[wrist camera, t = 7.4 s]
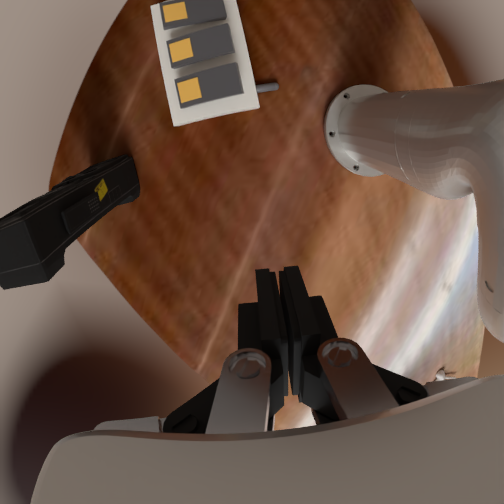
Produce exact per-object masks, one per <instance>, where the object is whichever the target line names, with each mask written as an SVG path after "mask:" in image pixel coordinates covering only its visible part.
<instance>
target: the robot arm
mask: <svg viewBox="0 0 504 504" xmlns="http://www.w3.org/2000/svg"><path fill="white" fill-rule="evenodd" d="M344 95H345V96H346V98H344ZM329 132H332V135H331V136H330V135H329ZM324 134H325V139H326V142H327V146H328V148H329V150H330V152H331V154H332V155H333V156H334V158H335V159H336V160H337V161H338V162H339V163H340V164H341V165H342V166H343V167H344V168H346V169H348V170H349V171H351V172H353V173H355V174H358V175H362V176H369V177H373V176H380V175H383V174H387V175H389V176H391V177H393V178H396V179H398V180H400V181H402V182H404V183H406V184H409V185H411V186H413V187H415V188H417V189H419V190H421V191H423V192H426V193H428V194H430V195H432V196H434V197H437V198H441V199H446V200H452V199H459V198H463V197H465V196H467V195H470V194H472V193H474V197H475V202H476V209H477V225H478V233H479V253H478V278H477V302H478V308H479V313H480V316H481V319H482V321H483V323H484V325H485V326H486V328H487V329H488V330H489V332H490V333H491V334H492V335H493V336H494V337H495V338H497V339H498V340H500V341H502V342H503V343H504V79H502V80H496V81H491V82H487V83H482V84H475V85H469V86H461V87H450V88H434V89H423V90H410V91H399V92H390V93H389V92H387V91H386V90H384V89H382V88H380V87H377V86H373V85H365V84H363V85H355V86H352V87H349V88H347V89H345V90H343V91H341V92H340V93H339V94H338V95H336V96H335V98H334V99H333V100H332V101H331V103H330V105H329V107H328V109H327V111H326V115H325V119H324ZM354 165H355V168H353V167H354ZM255 271H256V283H257V295H258V302H254V303H242V304H239V305H238V350H237V351H235V352H233V353H231V354H230V355H229V356H228V357H227V358H226V359H225V361H224V364H223V367H222V371H221V375H220V378H219V379H217V380H216V381H215V382H213V383H212V384H211V385H210V386H208V387H207V388H205V389H204V390H203V391H201V392H200V393H199V394H197V395H196V396H194V397H193V398H192V399H190V400H189V401H187V402H186V403H185V404H183V405H182V406H180V407H179V408H177V409H176V410H175V411H173V412H172V413H171V414H170V415H168V416H167V418H163V419H159V417H158V416H156V417H149V418H140V419H130V420H119V421H107V422H103V423H101V424H99V425H98V426H96V428H95V429H94V430H93V431H87V432H82V433H77V434H74V435H70V436H67V437H65V438H63V439H61V440H60V441H59V442H57V443H56V444H55V446H54V447H53V448H52V450H51V451H50V453H49V454H48V456H47V458H46V460H45V462H44V464H43V467H42V469H41V472H40V474H39V477H38V480H37V483H36V487H35V489H34V493H33V496H32V500H31V504H504V375H494V376H489V377H484V378H481V379H478V378H475V377H463V378H457V379H450V380H442V381H433V382H426V384H425V385H423V386H422V385H421V384H420V383H418V382H416V381H414V380H411V379H408V378H406V377H403V376H401V375H398V374H396V373H393V372H391V371H388V370H386V369H384V368H381V367H379V366H376V365H374V364H372V363H371V362H370V360H369V359H368V357H367V356H366V354H365V353H364V351H363V350H362V348H361V347H360V346H359V345H358V344H357V343H356V342H354V341H352V340H350V339H346V338H338V336H337V333H336V331H335V328H334V326H333V323H332V320H331V318H330V315H329V313H328V310H327V308H326V305H325V303H324V300H323V298H322V296H312V297H309V296H308V293H307V290H306V287H305V284H304V281H303V279H302V276H301V273H300V270H299V267H298V266H289V267H284V271H279V286H280V295H279V290H278V285H277V280H276V275H275V272H270V271H269V269H258V270H255ZM288 371H289V377H290V383H291V389H292V395H298V398H299V403H300V402H302V403H304V404H305V405H307V406H309V407H311V411H312V415H313V417H314V420H315V422H316V425H315V426H308V427H301V428H294V429H285V430H276V431H274V422H275V414H276V413H277V412H278V411H279V410H280V409H281V408H282V407H283V406H284V396H288Z"/></svg>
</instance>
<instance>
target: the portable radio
mask: <svg viewBox="0 0 504 504" xmlns="http://www.w3.org/2000/svg"><path fill="white" fill-rule="evenodd" d="M139 195H140V186H139V181H138V177H137V173H136V169H135V165H134V161H133V158H132V157H129V156H128V155H127V154H125V155H122V156H119V157H115V158H112V159H109V160H106V161H103V162H101V163H98V164H95V165H92V166H90V167H89V168H87V169H85V170H84V171H82V172H80V173H78V174H76V175H74V176H69V177H67V178H66V179H65V180H63V181H62V182H61V183H59V184H57V185H55V186H54V187H53V188H52V190H51V191H49V192H48V193H46V194H45V195H42V196H40V197H37V198H35V199H33V200H31V201H29V202H28V203H26V204H24V205H22V206H20V207H19V208H17V209H15V210H14V211H12V212H10V213H9V214H7V215H5V216H4V217H2V218H0V286H1V287H2V288H3V289H4V290H5V289H10V288H16V287H21V286H26V285H33V284H38V283H44V282H47V281H49V280H50V279H51V278H52V277H53V276H54V275H55V274H56V273H57V272H58V271H59V270H60V269H61V268H62V267H63V265H64V264H65V263H64V253H65V249H66V248H67V247H68V246H69V245H70V244H71V243H72V242H74V241H75V240H76V239H77V238H78V237H79V236H80V235H82V234H83V233H84V232H85V231H86V230H87V229H89V228H90V227H91V226H92V225H93V224H95V223H96V222H97V221H98V220H99V219H101V218H102V217H103V216H104V215H106V214H107V213H108V212H109V211H111V210H112V209H113V208H114V207H116V206H117V205H121V204H125V203H129V202H133V201H134V200H135V199H136V198H138V197H139Z"/></svg>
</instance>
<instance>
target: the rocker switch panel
mask: <svg viewBox="0 0 504 504" xmlns="http://www.w3.org/2000/svg"><path fill="white" fill-rule="evenodd" d="M168 1H172V0H168ZM223 1H224V5H225V10H226V14H227V18H226V20H220V21H212V22H205V23H199V24H194V25H187V26H182V27H177V28H172V29H168V30H164V29H163V24H162V18H161V12H160V6H159V3H158V4H155V5H152V6H151V12H152V18H153V24H154V30H155V36H156V41H157V47H158V52H159V57H160V63H161V68H162V73H163V78H164V83H165V88H166V92H167V97H168V102H169V107H170V111H171V116H172V120H173V125H174V126H181V125H184V124H188V123H192V122H196V121H200V120H204V119H208V118H213V117H217V116H222V115H227V114H231V113H236V112H242V111H247V110H253V109H258V108H259V107H260V106H259V101H258V96H257V93H259V92H266V91H273V90H277V89H278V88H279V85H278V84H277V83H268V84H261V85H255V82H254V77H253V72H252V68H251V63H250V59H249V54H248V50H247V45H246V41H245V36H244V32H243V28H242V23H241V19H240V15H239V11H238V7H237V3H236V0H223ZM165 2H167V1H165ZM226 23H228V24H229V26H230V30H231V35H232V39H233V44H234V48H235V53H232V54H228V55H223V56H219V57H215V58H211V59H208V60H204V61H200V62H197V63H193V64H190V65H187V66H183V67H180V68H177V69H172V68H171V64H170V58H169V53H168V48H167V43H166V41H168V40H171V39H174V38H177V37H180V36H183V35H186V34H189V33H192V32H196V31H199V30H203V29H206V28H210V27H214V26H217V25H221V24H226ZM234 62H236V63H238V67H239V72H240V76H241V81H242V86H243V91H244V94H240V95H236V96H231V97H227V98H222V99H218V100H214V101H210V102H206V103H202V104H199V105H195V106H191V107H188V108H184V109H180V104H179V100H178V95H177V90H176V86H175V81H174V79H177V78H180V77H183V76H186V75H190V74H193V73H196V72H199V71H203V70H206V69H210V68H214V67H217V66H221V65H225V64H229V63H234Z"/></svg>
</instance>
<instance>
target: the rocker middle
mask: <svg viewBox="0 0 504 504" xmlns="http://www.w3.org/2000/svg"><path fill="white" fill-rule="evenodd" d="M166 43H167V48H168V53H169V58H170V64H171V68H172V69H177V68H180V67H183V66H187V65H190V64H193V63H197V62H200V61H204V60H208V59H211V58H215V57H219V56H223V55H228V54H232V53H235V48H234V44H233V39H232V35H231V30H230V26H229V24H228V23H226V24H221V25H217V26H214V27H210V28H206V29H203V30H199V31H196V32H192V33H189V34H186V35H183V36H180V37H177V38H174V39H171V40H168V41H166Z"/></svg>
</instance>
